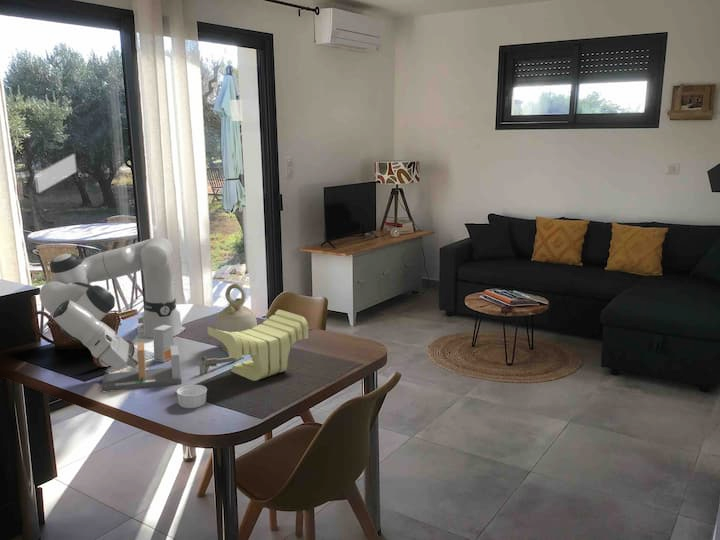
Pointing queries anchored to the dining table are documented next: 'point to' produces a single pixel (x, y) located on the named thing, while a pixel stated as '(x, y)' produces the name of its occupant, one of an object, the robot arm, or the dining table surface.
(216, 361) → the caliper
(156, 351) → the skincare box
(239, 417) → the dining table surface
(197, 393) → the ramekin
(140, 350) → the paddle
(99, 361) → the tin
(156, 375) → the gauge board
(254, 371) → the slatted curved stool
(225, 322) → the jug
